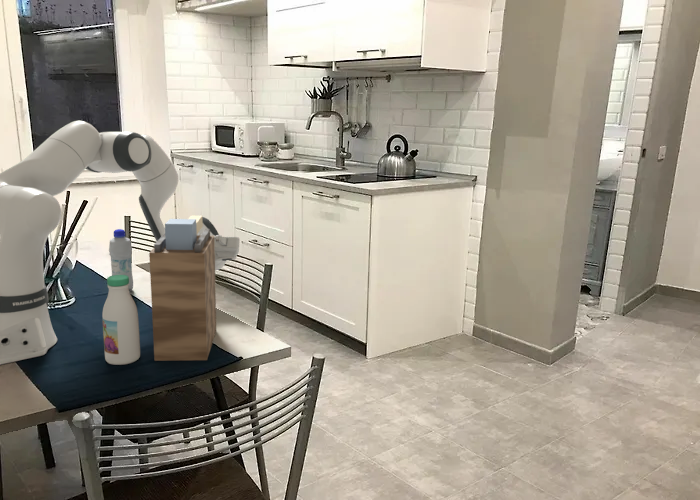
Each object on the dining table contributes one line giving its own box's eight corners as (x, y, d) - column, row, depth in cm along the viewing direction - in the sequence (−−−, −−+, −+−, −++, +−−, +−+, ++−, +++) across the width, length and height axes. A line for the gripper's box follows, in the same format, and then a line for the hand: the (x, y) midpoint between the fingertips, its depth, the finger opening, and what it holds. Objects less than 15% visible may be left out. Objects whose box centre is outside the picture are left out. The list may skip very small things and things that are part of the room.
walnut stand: (206, 360, 137) (204, 245, 130) (154, 360, 135) (148, 244, 129) (216, 331, 154) (214, 228, 147) (169, 331, 153) (165, 228, 146)
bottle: (107, 291, 182) (103, 229, 178) (127, 286, 187) (124, 226, 183) (118, 296, 178) (114, 232, 173) (138, 291, 183) (135, 229, 178)
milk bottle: (138, 349, 141) (133, 270, 136) (142, 362, 134) (138, 279, 129) (103, 354, 137) (97, 274, 133) (106, 368, 131) (100, 283, 126)
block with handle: (192, 249, 133) (192, 224, 132) (165, 249, 132) (164, 223, 131) (208, 226, 158) (207, 204, 157) (185, 226, 157) (184, 204, 156)
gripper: (174, 238, 178) (164, 225, 164) (241, 239, 180) (237, 227, 166) (172, 258, 176) (163, 247, 163) (241, 259, 178) (236, 249, 165)
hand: (201, 237), depth 165 cm, fingers open, 8 cm apart
